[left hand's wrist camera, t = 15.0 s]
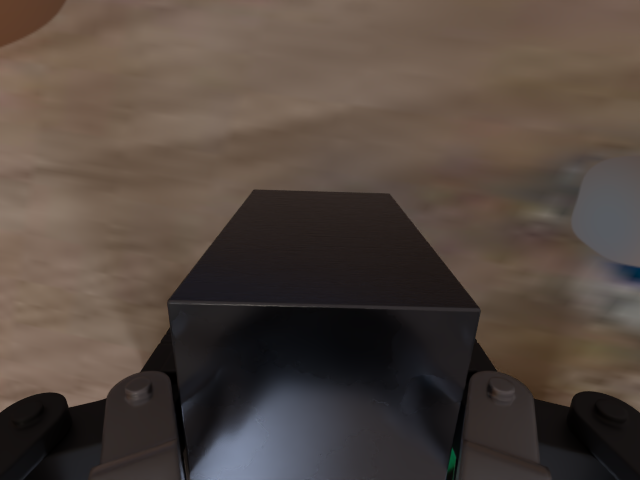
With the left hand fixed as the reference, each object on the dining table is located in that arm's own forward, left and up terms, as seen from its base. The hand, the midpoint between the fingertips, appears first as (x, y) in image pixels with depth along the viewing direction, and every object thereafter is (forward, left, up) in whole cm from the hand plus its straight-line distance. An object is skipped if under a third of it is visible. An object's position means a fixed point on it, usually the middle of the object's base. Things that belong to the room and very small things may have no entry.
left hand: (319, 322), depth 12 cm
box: (-7, +4, -5) cm, 9 cm away
